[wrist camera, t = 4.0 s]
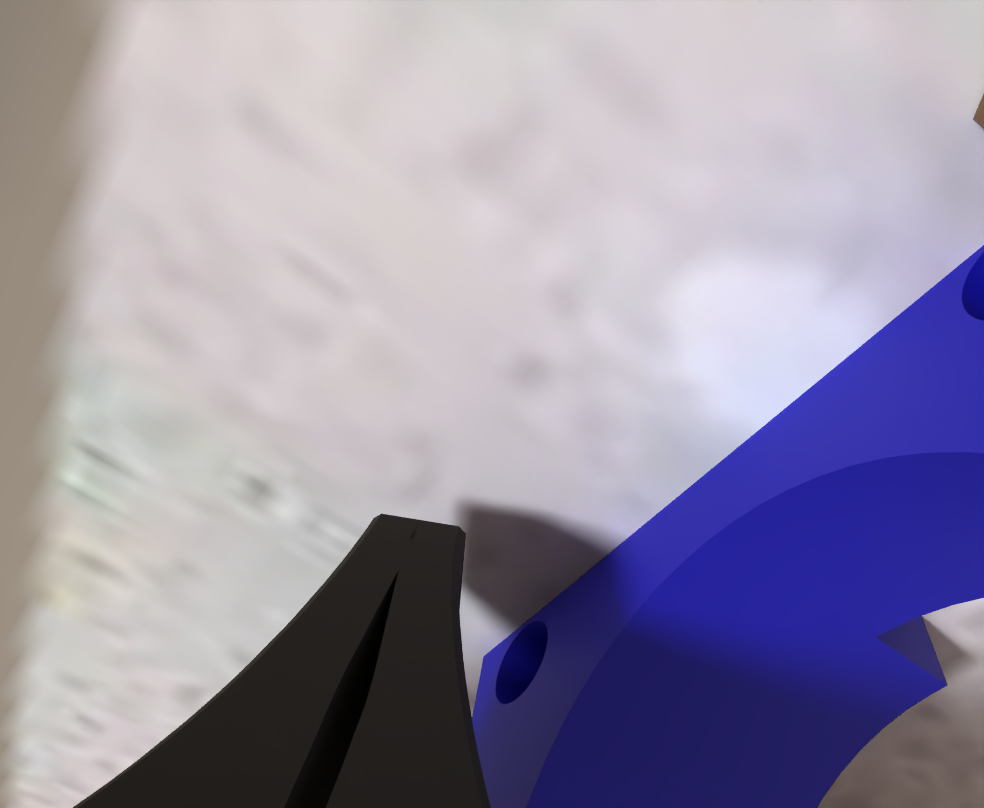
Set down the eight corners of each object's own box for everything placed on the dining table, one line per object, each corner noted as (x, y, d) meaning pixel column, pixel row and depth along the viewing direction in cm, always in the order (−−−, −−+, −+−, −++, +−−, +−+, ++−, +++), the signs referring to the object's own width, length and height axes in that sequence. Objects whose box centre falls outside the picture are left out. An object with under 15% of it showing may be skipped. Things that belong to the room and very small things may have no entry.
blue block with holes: (666, 751, 16) (680, 1142, 11) (485, 648, 15) (415, 1028, 10) (1337, 363, 10) (2056, 886, 5) (1100, 137, 9) (1701, 509, 4)
